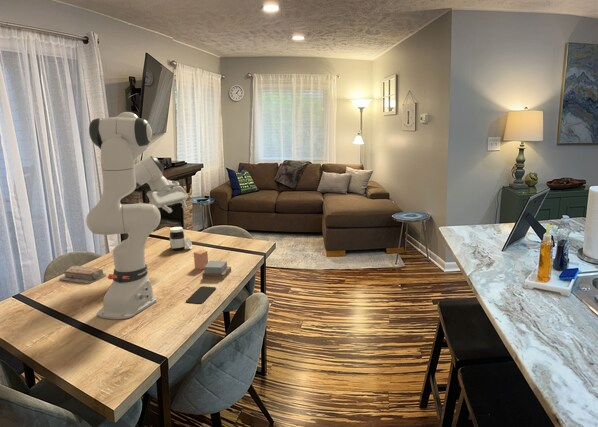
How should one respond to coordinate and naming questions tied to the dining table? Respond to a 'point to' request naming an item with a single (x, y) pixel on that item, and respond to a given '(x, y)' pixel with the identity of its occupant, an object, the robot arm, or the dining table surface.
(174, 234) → the spread jar
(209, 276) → the walnut slab
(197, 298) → the phone
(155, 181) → the robot arm
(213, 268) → the slate slab
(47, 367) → the dining table surface
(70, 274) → the packaged product
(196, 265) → the terracotta block
